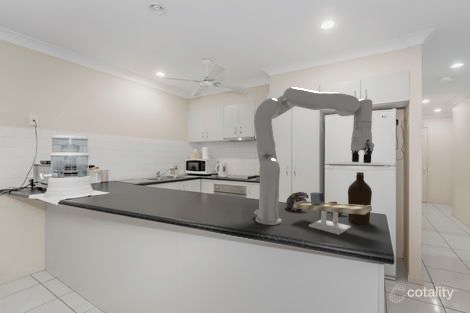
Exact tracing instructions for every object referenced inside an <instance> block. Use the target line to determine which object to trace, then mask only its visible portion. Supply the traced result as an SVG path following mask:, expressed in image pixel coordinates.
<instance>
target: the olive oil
mask: <svg viewBox="0 0 470 313" xmlns="http://www.w3.org/2000/svg"><path fill="white" fill-rule="evenodd" d="M364 173H365V172H362V171H361V172H359V171H357V172H356V176H355V177H356V178H355V180H354V181H353V182H352V183H351V184H349V187H348V189H347V201H348V202H347V204H353V205H371V204H372V196H373V191H372V188H371V187H370V185H369V184H368V183H367V182H366V181H365V175H364ZM371 206H372V205H371ZM347 214H348V215H347V216H348V218H347V219H348V222H350V223H352V224H356V225H365V226H366V225H369V224H370V219H371V218H370V217H371V211H370V212H369V213H367V214H365V215H361V214H351V213H347Z"/></svg>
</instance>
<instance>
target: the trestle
mask: <svg viewBox="0 0 470 313" xmlns="http://www.w3.org/2000/svg"><path fill="white" fill-rule="evenodd" d="M320 213H321V214H320V219H319V220H317V221H314V222H312V223H310V224H308V227H310V228H313V229H316V230H320V231H324V232H328V233H332V234H335V235H340V234H343V233H344V232H346V231H348V230H350V229H351V228H352V226H351V225H348V224H343V223H339V216H338V212H333V216H332V221H331V220H327V219H328V218H327V216H328V215H327V213H328V212H326V211H320Z"/></svg>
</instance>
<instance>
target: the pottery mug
mask: <svg viewBox="0 0 470 313" xmlns="http://www.w3.org/2000/svg"><path fill="white" fill-rule="evenodd" d="M327 203H338V201H329V202H327ZM330 215H331V216H332V217H333V212H330ZM342 215H343V213H340V212H338V217H342Z"/></svg>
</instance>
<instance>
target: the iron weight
mask: <svg viewBox="0 0 470 313" xmlns="http://www.w3.org/2000/svg"><path fill="white" fill-rule="evenodd" d="M324 194H325V193H324V191H321V192H320V191H315V192H314V191H313V192H310V202H311V205H318V206H322V205H324V203H325V195H324Z"/></svg>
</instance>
